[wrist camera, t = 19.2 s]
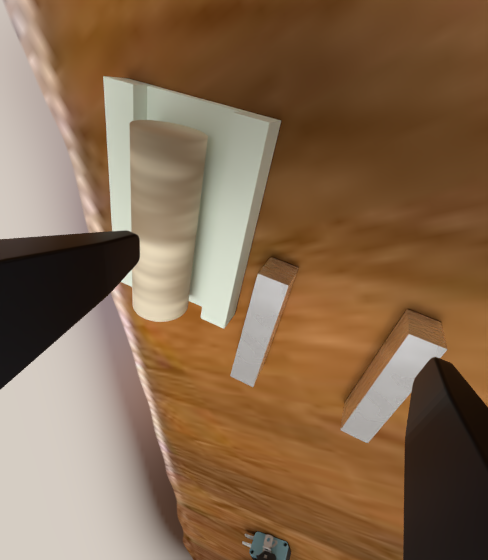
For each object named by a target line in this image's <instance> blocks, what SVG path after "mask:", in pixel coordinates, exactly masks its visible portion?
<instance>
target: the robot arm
mask: <svg viewBox="0 0 488 560" xmlns="http://www.w3.org/2000/svg"><path fill="white" fill-rule="evenodd" d="M139 259H140V238H139V236H138V235H137V234H135V233H133V232H130V231H127V230H124V231H110V232H96V233H82V234H68V235H55V236H42V237H28V238H14V239H0V389H1V388H3V387H4V386H5V385H6V384H7V383H8V382H9V381H11V380H12V379H13V378H14V377H15V376H16V375H18V374H19V373H20V372H21V371H22V370H23V369H24V368H26V367H27V366H28V365H29V364H30V363H31V362H32V361H34V360H35V359H36V358H37V357H38V356H39V355H40V354H41V353H43V352H44V351H45V350H46V349H47V348H48V347H50V346H51V345H52V344H53V343H54V342H55V341H56V340H58V339H59V338H60V337H61V336H62V335H63V334H64V333H66V332H67V331H68V330H69V329H70V328H71V327H72V326H74V324H76V323H77V322H78V321H79V320H80V319H82V317H84V316H85V315H86V314H87V313H88V312H89V311H91V310H92V309H93V308H94V307H95V306H96V305H97V304H99V303H100V302H101V301H102V300H103V299H104V298H105V297H106V296H108V294H109V293H111V292H112V291H113V289H114V288H115V287H116V286H117V285H118V284H119V283H120V282H121V281H122V280H123V279H124V278H125V277H126V275H127V274H128V273H129V272H130V271H131V270H132V269H133V268H134V267H135V266H136V265H137V263H138V262H139ZM403 560H488V407H487V406H486V405H485V403H484V402H483V401H482V400H481V398H480V397H479V396H478V395H477V394H476V392H475V391H474V390H473V389H472V387H471V386H470V385H469V384H468V383H467V381H466V380H465V379H464V378H463V376H462V375H461V374H460V373H459V372H458V370H457V369H456V368H455V367H454V365H453V364H451V363H450V362H447V361H445V360H442V359H440V358H438V357H432V358H431V359H430V360H429V361H428V362H427V363H426V365H425V366H424V367H423V368H422V370H421V371H420V372H419V373H418V375H417V376H416V377H415V379H414V382H413V386H412V393H411V400H410V407H409V413H408V420H407V427H406V436H405V473H404V553H403Z"/></svg>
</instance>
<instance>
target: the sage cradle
mask: <svg viewBox="0 0 488 560" xmlns="http://www.w3.org/2000/svg"><path fill="white" fill-rule="evenodd" d="M103 80H104V97H105V114H106V132H107V149H108V166H109V184H110V201H111V218H112V231H124V230H127V231H130V232H131V181H130V125H129V123H130V122H131V121H135V120H155V121H164V122H170V123H175V124H180V125H184V126H187V127H191V128H194V129H197V130H199V131H201V132H203V133H205V134H206V135H207V136H208V142H207V150H206V159H205V167H204V175H203V184H202V192H201V201H200V209H199V217H198V226H197V234H196V243H195V251H194V259H193V268H192V276H191V285H190V293H189V301H190V302H193V303H195V304H197V305H199V306H202V313H201V318H202V319H204V320H206V321H208V322H210V323H212V324H215V325H217V326H219V327H221V328H223V329H224V328H225V327H226V325H227V324H228V323H229V321H230V320H231V319H232V317H233V316H234V315H235V312H236V308H237V303H238V299H239V295H240V291H241V287H242V283H243V278H244V274H245V270H246V266H247V262H248V257H249V253H250V249H251V245H252V241H253V237H254V232H255V228H256V224H257V220H258V216H259V212H260V207H261V203H262V199H263V195H264V191H265V187H266V182H267V178H268V174H269V170H270V166H271V161H272V157H273V153H274V149H275V145H276V141H277V136H278V132H279V128H280V124H281V120H277V119H274V118H270V117H266V116H263V115H259V114H256V113H252V112H248V111H245V110H241V109H237V108H234V107H230V106H227V105H223V104H219V103H216V102H212V101H208V100H205V99H201V98H198V97H194V96H190V95H187V94H183V93H179V92H176V91H172V90H169V89H165V88H161V87H158V86H154V85H150V84H147V83H143V82H140V81H136V80H132V79H129V78H119V77H108V76H103ZM121 282H123V283H125V284H127V285H129V286H131V287H132V270H131V271H130V272H129V273H128V274H127V275H126V277H125V278H124V279H123V280H122V281H121Z"/></svg>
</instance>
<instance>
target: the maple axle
mask: <svg viewBox="0 0 488 560" xmlns="http://www.w3.org/2000/svg"><path fill="white" fill-rule="evenodd" d="M129 125H130V181H131V232H133V233H135V234H137V235H138V236H139V238H140V259H139V262H138V263H137V265H136V266H135V267H134V268H133V269H132V294H133V308H134V310H135V312H136V313H137V314H138V315H139V316H141V317H143V318H145V319H147V320H151V321H156V322H165V321H171V320H174V319H177V318H179V317H180V316H182V315H183V314H184V313H185V312H186V310H187V308H188V301H189V293H190V285H191V276H192V268H193V259H194V251H195V243H196V234H197V226H198V217H199V209H200V201H201V192H202V184H203V175H204V167H205V159H206V150H207V142H208V136H207V135H206V134H205V133H203V132H201V131H199V130H197V129H194V128H191V127H187V126H184V125H180V124H175V123H170V122H164V121H155V120H135V121H131V122H130V123H129Z"/></svg>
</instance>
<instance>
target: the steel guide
mask: <svg viewBox="0 0 488 560" xmlns="http://www.w3.org/2000/svg"><path fill="white" fill-rule="evenodd" d="M298 268H299V267H296V266H293V265H291V264H288V263H286V262H283V261H280V260H278V259H275V258H273V257H270V258H269V260H268V261H267V262H266V264H265V265H264V266H263V268H262V269H261V270H260V271H259V273H258V275H257V279H256V282H255V286H254V290H253V294H252V297H251V301H250V305H249V308H248V312H247V316H246V319H245V323H244V327H243V331H242V334H241V338H240V342H239V345H238V349H237V353H236V357H235V360H234V364H233V368H232V371H231V375H230V376H231V377H233V378H235V379H237V380H239V381H241V382H244V383H246V384H248V385H250V386H252V387H254V384H255V382H256V380H257V378H258V376H259V374H260V372H261V370H262V368H263V366H264V363H265V360H266V357H267V355H268V352H269V349H270V346H271V343H272V341H273V338H274V335H275V332H276V329H277V327H278V324H279V321H280V318H281V315H282V313H283V310H284V307H285V304H286V302H287V299H288V296H289V293H290V290H291V288H292V285H293V282H294V279H295V276H296V274H297V271H298ZM446 351H447V345H446V341H445V337H444V332H443V328H442V324H441V322H439V321H437V320H434V319H432V318H429V317H426V316H424V315H421V314H419V313H416V312H413V311H411V310H408V309H407V310H406V311H405V313H404V314H403V316H402V317H401V319H400V320H399V322H398V323H397V325H396V326H395V328H394V329H393V331H392V332H391V334H390V335H389V337H388V338H387V340H386V341H385V343H384V344H383V346H382V347H381V349H380V350H379V352H378V353H377V355H376V356H375V358H374V359H373V361H372V362H371V364H370V365H369V367H368V368H367V370H366V371H365V373H364V374H363V376H362V377H361V379H360V380H359V382H358V383H357V385H356V386H355V388H354V389H353V391H352V392H351V394H350V395H349V397H348V398H347V400H346V401H345V403H344V409H343V416H342V422H341V429H340V430H341V431H343V432H345V433H347V434H349V435H351V436H353V437H356V438H358V439H360V440H362V441H364V442H366V443H368V442H369V441H370V440H371V439H372V437H373V436H374V435H375V434H376V433H377V432H378V430H379V429H380V428H381V427H382V426H383V425H384V423H385V422H386V421H387V420H388V419H389V418H390V416H391V415H392V414H393V413H394V412H395V410H396V409H397V408H398V407H399V406H400V405H401V403H402V402H403V401H404V400H405V399H406V398H407V396H408V395H409V394H410V393H411V392H412V386H413V382H414V379H415V377H416V376H417V375H418V373H419V372H420V371H421V370H422V368H423V367H424V366H425V365H426V363H427V362H428V361H429V360H430V359H431V358H432V357H438V358H441V356H442V355H443V354H444V353H445V352H446Z"/></svg>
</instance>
